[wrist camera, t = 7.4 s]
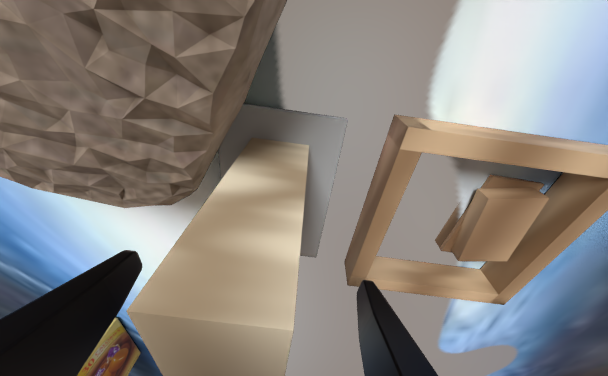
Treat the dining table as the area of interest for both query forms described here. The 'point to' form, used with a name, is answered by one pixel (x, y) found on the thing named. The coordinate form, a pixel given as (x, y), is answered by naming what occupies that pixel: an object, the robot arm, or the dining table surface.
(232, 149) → the felt pad
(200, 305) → the birch panel
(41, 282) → the dining table surface
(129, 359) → the candy box
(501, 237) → the offcut upper
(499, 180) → the offcut lower
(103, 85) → the grey brown rock
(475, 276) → the square wooden frame
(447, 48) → the dining table surface
